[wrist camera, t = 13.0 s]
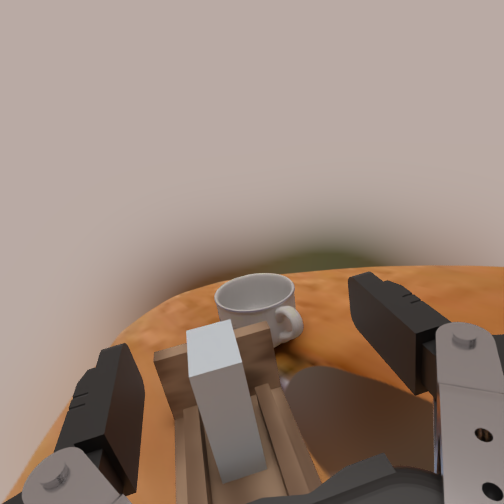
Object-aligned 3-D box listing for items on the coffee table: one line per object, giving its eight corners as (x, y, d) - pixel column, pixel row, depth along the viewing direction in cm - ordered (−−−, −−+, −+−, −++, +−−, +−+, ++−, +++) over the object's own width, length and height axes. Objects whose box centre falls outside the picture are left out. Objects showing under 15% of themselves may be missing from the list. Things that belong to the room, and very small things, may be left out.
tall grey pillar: (253, 415, 35) (230, 318, 31) (267, 469, 30) (242, 362, 25) (215, 426, 35) (186, 330, 30) (222, 483, 29) (188, 377, 25)
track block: (278, 384, 40) (266, 320, 36) (341, 534, 25) (331, 452, 22) (176, 415, 38) (154, 352, 35) (181, 597, 24) (142, 519, 20)
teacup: (215, 332, 51) (203, 287, 48) (277, 306, 55) (270, 262, 52) (255, 391, 39) (242, 335, 36) (331, 353, 43) (325, 299, 40)
